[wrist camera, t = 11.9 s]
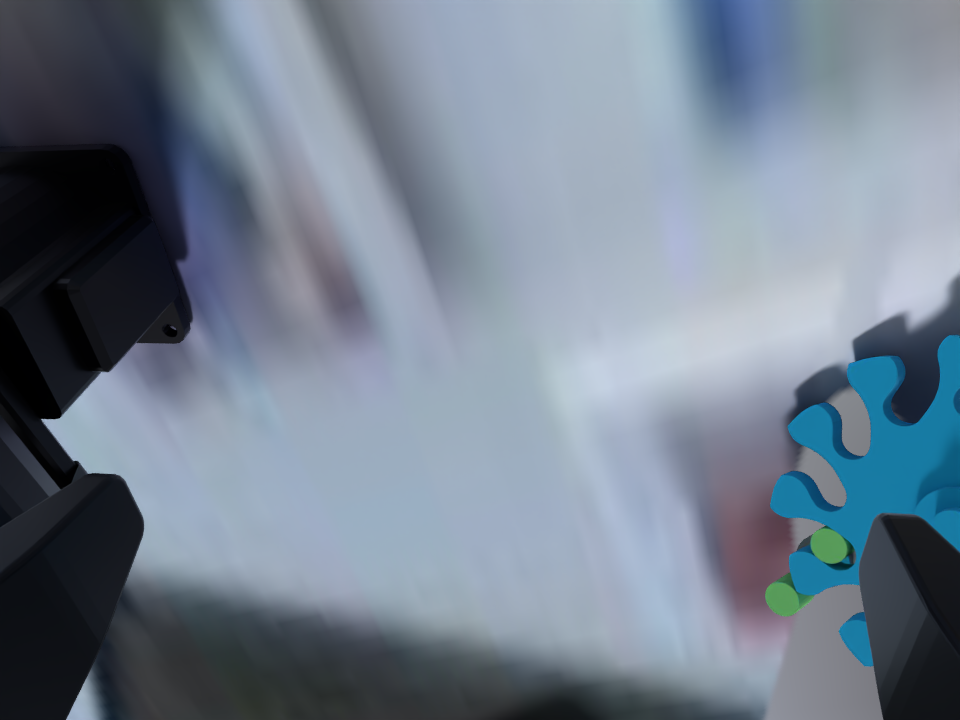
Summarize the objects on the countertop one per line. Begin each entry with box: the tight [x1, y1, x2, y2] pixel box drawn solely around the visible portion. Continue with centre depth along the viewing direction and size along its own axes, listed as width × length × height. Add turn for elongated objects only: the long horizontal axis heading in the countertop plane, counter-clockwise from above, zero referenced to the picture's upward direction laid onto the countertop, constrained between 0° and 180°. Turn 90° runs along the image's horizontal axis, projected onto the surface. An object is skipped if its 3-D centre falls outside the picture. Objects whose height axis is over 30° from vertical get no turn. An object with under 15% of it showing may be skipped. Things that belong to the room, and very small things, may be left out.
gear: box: [765, 335, 960, 666], centre depth 22 cm, size 11×6×10 cm
